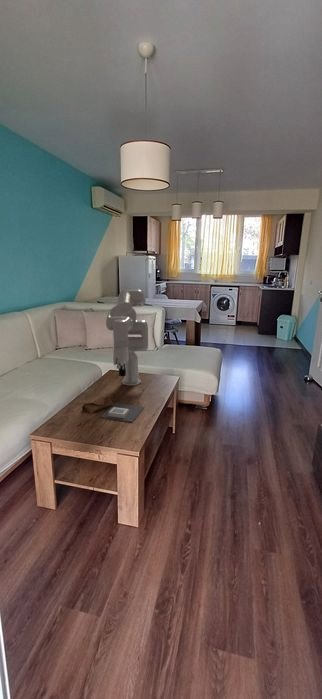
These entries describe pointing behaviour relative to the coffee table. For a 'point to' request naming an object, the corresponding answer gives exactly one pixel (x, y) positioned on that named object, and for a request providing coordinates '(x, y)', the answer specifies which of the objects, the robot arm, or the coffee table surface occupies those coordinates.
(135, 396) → the coffee table surface
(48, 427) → the coffee table surface
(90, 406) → the sunglasses case
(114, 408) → the block
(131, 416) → the mat
